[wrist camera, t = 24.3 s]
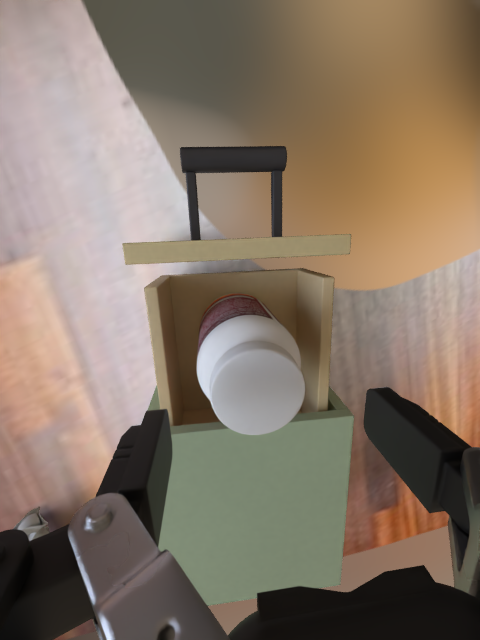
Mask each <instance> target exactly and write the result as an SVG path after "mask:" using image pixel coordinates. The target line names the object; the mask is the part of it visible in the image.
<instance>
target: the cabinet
mask: <svg viewBox="0 0 480 640" xmlns="http://www.w3.org/2000/svg"><path fill="white" fill-rule="evenodd" d="M159 409H160V404H159V396H158V389H157V386H156V389H155V391H154V394H153V397H152V400H151V402H150V405H149V408H148V410H147V411H149V410H159ZM353 423H354V415H353V414H352V413H351V412H350V410H349V409H348V408H347V407H346V406H345V404H344V403H343V402H342V401H341V400H340V398H339V397H338V396H337V395H336V394H335V392H334V391H333V390H332V389H331V388H330V386H329V392H328V411H321V412H311V413H301V414H296V416H295V417H294V418H293V419H292V420H291V421H290V422H289V423H288V424H286V425H285V426H283V427H282V428H280V429H278V430H276V431H274V432H271V433H267V434H262V435H246V434H241V433H238V432H235V431H233V430H231V429H230V428H228V427H227V426H225V425H224V424H223V423H222V422H221V421H220V422H210V423H200V424H190V425H180V426H170V430H171V438H172V449H173V454H172V464H171V470H170V476H169V482H168V489H167V495H166V501H165V507H164V514H163V520H162V526H161V532H160V538H159V545H158V548H159V550H160V551H161V552H162V551H163V550H165V549H167V550H168V551H170V552H171V554H172V555H173V556H174V558H175V559H176V560H177V562H178V563H179V565H180V566H181V568H182V569H183V571H184V572H185V574H186V575H187V577H188V578H189V580H190V581H191V583H192V584H193V585H194V587H195V588H196V590H197V591H198V593H199V594H200V596H201V597H202V599H203V600H204V602H205V603H206V605H207V606H209V605H215V604H222V603H228V602H235V601H240V600H247V599H253V598H257V593H260V592H266V591H272V590H278V589H284V588H290V587H296V586H304V587H311V588H323V587H329V586H336V585H340V582H341V570H342V558H343V545H344V533H345V521H346V509H347V497H348V484H349V472H350V460H351V448H352V436H353Z"/></svg>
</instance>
